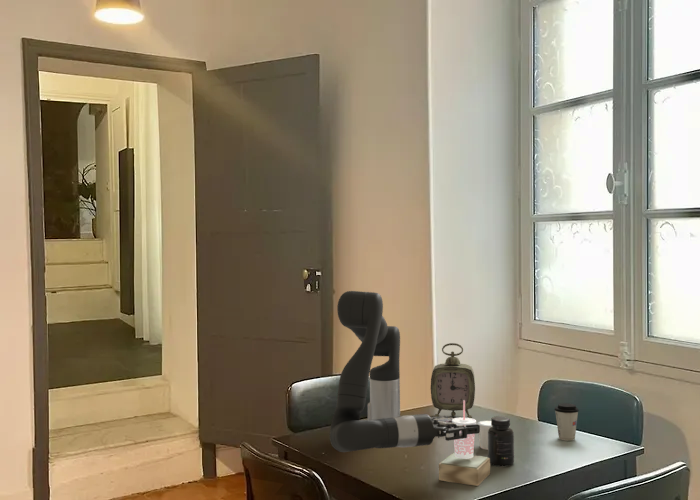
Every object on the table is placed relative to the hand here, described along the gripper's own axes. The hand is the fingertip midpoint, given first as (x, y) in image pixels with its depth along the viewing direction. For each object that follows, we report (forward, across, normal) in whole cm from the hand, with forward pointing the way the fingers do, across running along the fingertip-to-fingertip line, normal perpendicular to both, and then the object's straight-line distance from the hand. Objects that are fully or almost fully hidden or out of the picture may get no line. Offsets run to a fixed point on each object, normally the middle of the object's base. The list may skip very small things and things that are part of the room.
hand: (472, 425), depth 183 cm
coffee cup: (+42, +21, +13) cm, 48 cm away
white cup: (+16, +21, +13) cm, 30 cm away
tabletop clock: (+21, +56, +13) cm, 61 cm away
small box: (-2, 0, +13) cm, 13 cm away
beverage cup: (-2, 0, +8) cm, 8 cm away
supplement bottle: (+12, +7, +13) cm, 19 cm away
